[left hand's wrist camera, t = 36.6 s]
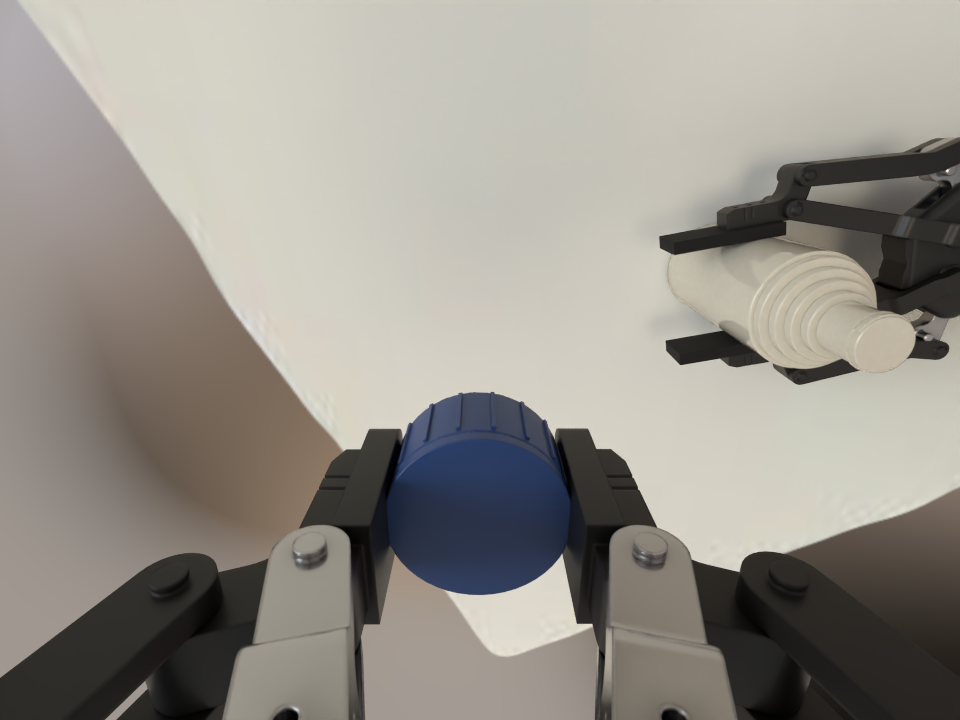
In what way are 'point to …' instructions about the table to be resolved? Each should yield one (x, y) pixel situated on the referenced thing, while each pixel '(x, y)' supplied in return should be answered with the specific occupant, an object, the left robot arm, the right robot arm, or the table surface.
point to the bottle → (793, 304)
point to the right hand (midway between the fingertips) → (670, 301)
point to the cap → (478, 496)
